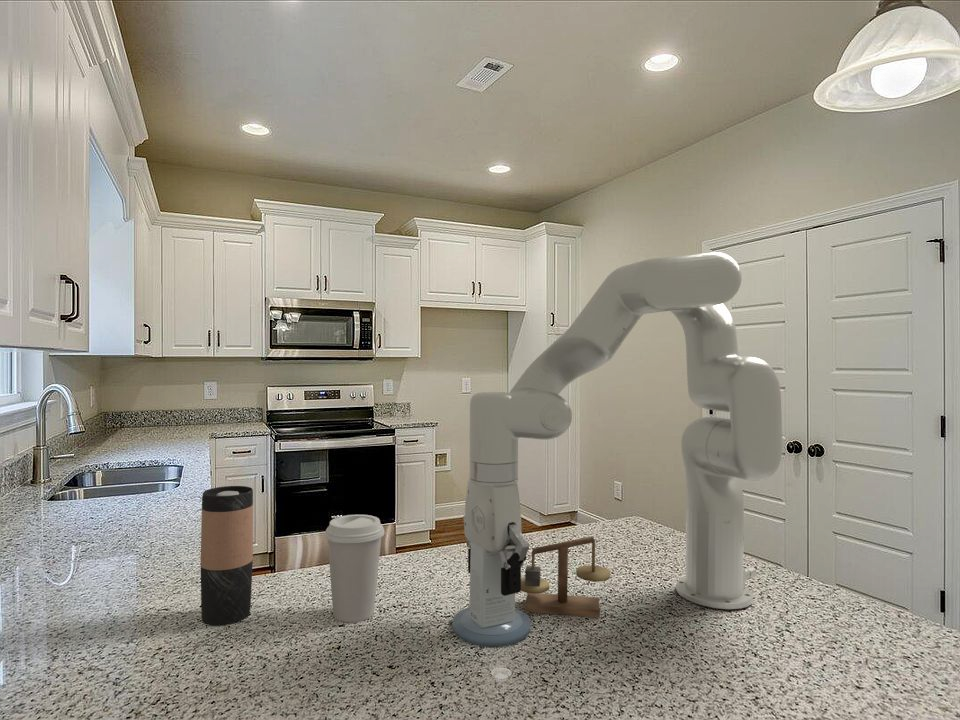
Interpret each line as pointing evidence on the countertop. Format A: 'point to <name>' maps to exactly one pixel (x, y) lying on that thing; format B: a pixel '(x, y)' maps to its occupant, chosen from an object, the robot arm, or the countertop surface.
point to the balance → (562, 584)
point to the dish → (491, 630)
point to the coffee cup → (354, 565)
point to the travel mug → (226, 554)
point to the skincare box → (488, 589)
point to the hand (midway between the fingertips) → (493, 582)
